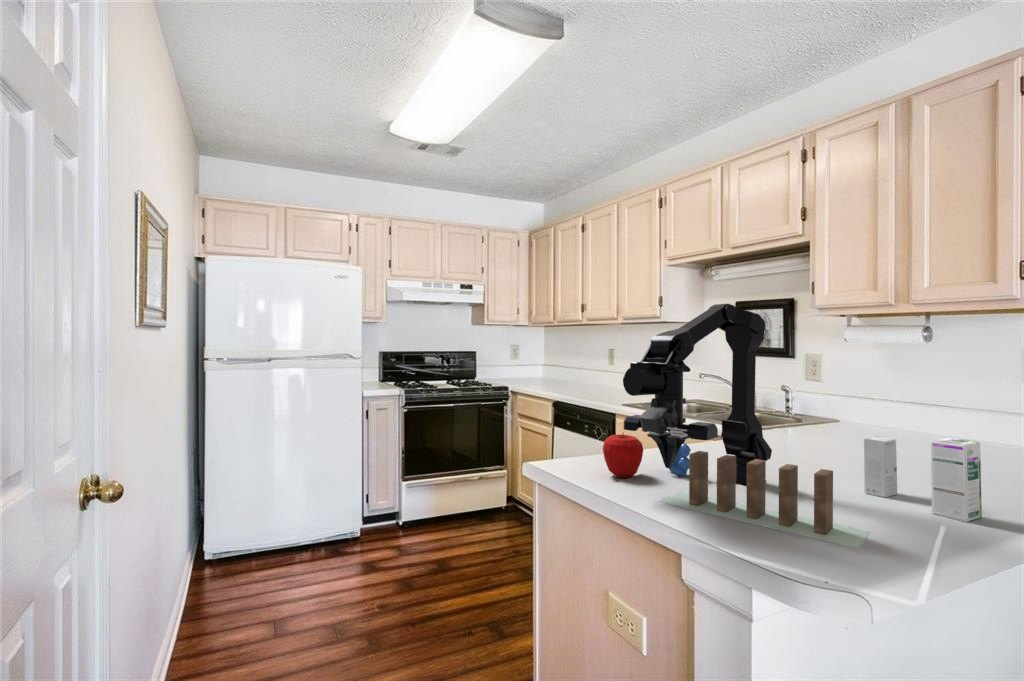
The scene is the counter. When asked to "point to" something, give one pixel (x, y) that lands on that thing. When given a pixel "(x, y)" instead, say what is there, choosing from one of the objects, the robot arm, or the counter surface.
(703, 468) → the domino
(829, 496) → the domino
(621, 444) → the apple
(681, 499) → the board
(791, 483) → the domino
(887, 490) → the skincare box
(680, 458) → the grapes
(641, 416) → the robot arm
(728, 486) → the domino
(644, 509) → the counter surface
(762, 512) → the domino
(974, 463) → the syrup box
